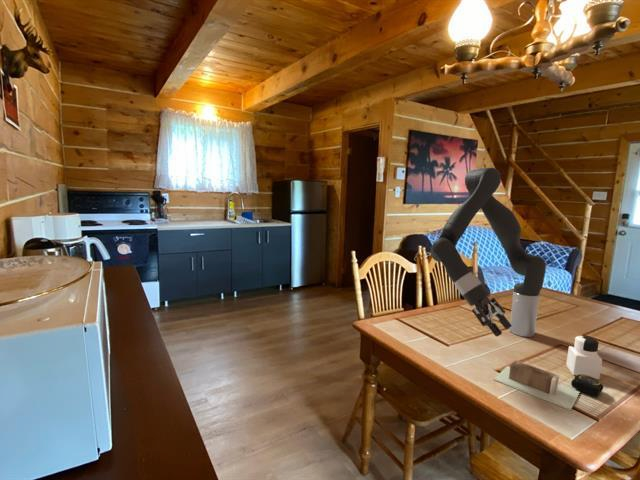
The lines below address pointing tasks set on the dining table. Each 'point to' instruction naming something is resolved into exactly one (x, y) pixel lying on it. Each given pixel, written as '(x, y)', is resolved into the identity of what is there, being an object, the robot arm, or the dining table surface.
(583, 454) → the dining table surface
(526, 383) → the walnut block
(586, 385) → the tape measure
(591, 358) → the medicine bottle
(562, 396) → the sage mat
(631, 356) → the dining table surface
